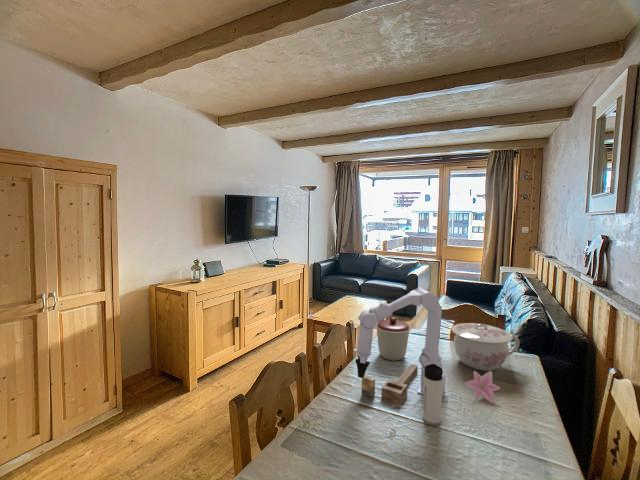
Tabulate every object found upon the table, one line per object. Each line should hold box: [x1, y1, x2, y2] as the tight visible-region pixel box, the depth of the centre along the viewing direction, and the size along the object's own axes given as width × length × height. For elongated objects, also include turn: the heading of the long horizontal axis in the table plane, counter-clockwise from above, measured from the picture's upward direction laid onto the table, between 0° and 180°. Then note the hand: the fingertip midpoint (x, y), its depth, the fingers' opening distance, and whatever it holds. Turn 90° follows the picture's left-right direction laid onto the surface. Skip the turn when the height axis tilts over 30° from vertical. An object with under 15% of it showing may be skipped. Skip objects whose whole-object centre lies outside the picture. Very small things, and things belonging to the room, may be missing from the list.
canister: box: [375, 316, 412, 362], centre depth 172 cm, size 18×18×21 cm
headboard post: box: [381, 363, 418, 405], centre depth 143 cm, size 8×30×4 cm, turn 146°
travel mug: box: [422, 364, 444, 427], centre depth 118 cm, size 6×7×20 cm
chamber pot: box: [451, 322, 520, 372], centre depth 163 cm, size 28×28×21 cm
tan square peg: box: [361, 375, 376, 401], centre depth 134 cm, size 5×2×8 cm, turn 56°
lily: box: [464, 370, 501, 404], centre depth 135 cm, size 12×12×10 cm
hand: (360, 372), depth 134 cm, fingers open, 7 cm apart
